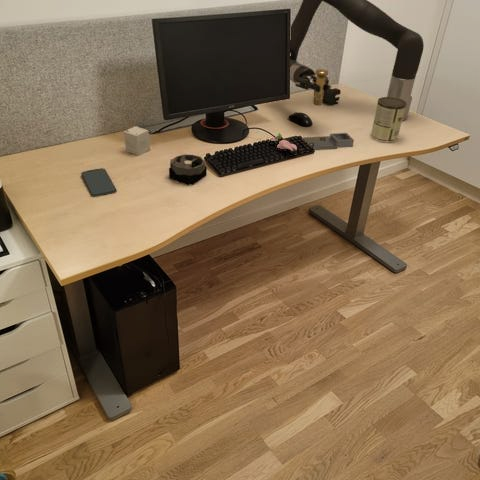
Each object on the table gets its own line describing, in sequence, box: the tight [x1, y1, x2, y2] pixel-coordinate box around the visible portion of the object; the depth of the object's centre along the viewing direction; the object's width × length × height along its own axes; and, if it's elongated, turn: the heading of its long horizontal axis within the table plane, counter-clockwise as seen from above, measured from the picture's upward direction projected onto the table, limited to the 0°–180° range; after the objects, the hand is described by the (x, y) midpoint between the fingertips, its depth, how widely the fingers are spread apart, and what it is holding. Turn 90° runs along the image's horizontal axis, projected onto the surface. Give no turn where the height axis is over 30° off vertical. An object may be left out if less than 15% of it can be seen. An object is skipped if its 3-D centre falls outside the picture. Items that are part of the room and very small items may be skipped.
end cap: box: [313, 85, 341, 106], centre depth 207 cm, size 10×7×7 cm
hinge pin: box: [313, 69, 329, 107], centre depth 169 cm, size 4×4×12 cm
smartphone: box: [80, 167, 117, 198], centre depth 140 cm, size 8×2×15 cm
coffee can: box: [370, 96, 407, 144], centre depth 174 cm, size 10×10×14 cm
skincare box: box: [123, 125, 151, 156], centre depth 158 cm, size 6×6×7 cm
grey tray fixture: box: [302, 132, 355, 151], centre depth 170 cm, size 19×9×2 cm, turn 102°
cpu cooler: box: [168, 154, 207, 186], centre depth 145 cm, size 10×6×10 cm
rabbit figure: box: [266, 132, 298, 152], centre depth 164 cm, size 6×6×15 cm
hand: (324, 89), depth 167 cm, fingers closed on hinge pin, 3 cm apart
